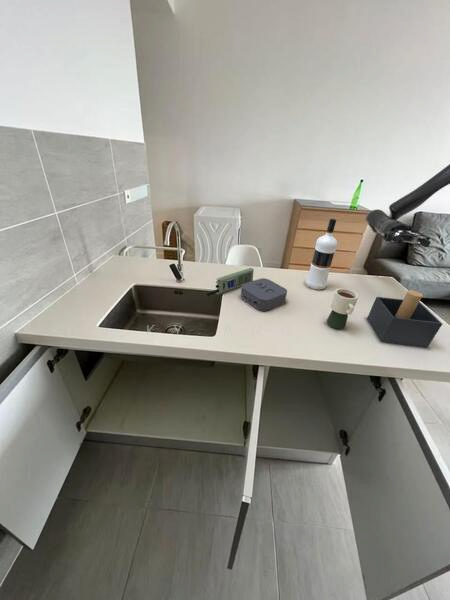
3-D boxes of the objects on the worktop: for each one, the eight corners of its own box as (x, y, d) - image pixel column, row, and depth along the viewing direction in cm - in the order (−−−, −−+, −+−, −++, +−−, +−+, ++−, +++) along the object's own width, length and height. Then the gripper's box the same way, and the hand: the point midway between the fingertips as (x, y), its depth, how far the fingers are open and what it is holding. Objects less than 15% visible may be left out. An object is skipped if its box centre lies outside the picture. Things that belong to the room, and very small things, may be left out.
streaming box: (288, 302, 98) (290, 291, 95) (262, 313, 90) (263, 301, 88) (263, 287, 108) (264, 277, 105) (237, 296, 100) (238, 285, 97)
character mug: (352, 334, 82) (366, 302, 75) (332, 334, 81) (344, 302, 75) (338, 316, 91) (348, 285, 84) (319, 316, 91) (329, 285, 84)
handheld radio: (253, 282, 111) (209, 298, 97) (248, 280, 113) (205, 295, 99) (254, 269, 108) (209, 283, 94) (249, 267, 110) (204, 281, 96)
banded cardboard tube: (399, 327, 86) (418, 290, 78) (404, 335, 82) (426, 297, 74) (386, 326, 86) (404, 289, 78) (391, 333, 82) (411, 295, 75)
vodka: (300, 281, 114) (316, 216, 99) (317, 280, 117) (335, 215, 101) (312, 291, 107) (331, 222, 91) (330, 289, 109) (351, 221, 94)
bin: (407, 323, 89) (419, 301, 84) (427, 347, 78) (442, 323, 73) (366, 318, 91) (376, 296, 86) (381, 341, 79) (393, 318, 74)
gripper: (378, 219, 95) (397, 230, 82) (416, 222, 94) (442, 234, 80) (371, 238, 99) (388, 251, 85) (408, 241, 98) (431, 255, 84)
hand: (414, 243), depth 83 cm, fingers open, 8 cm apart
